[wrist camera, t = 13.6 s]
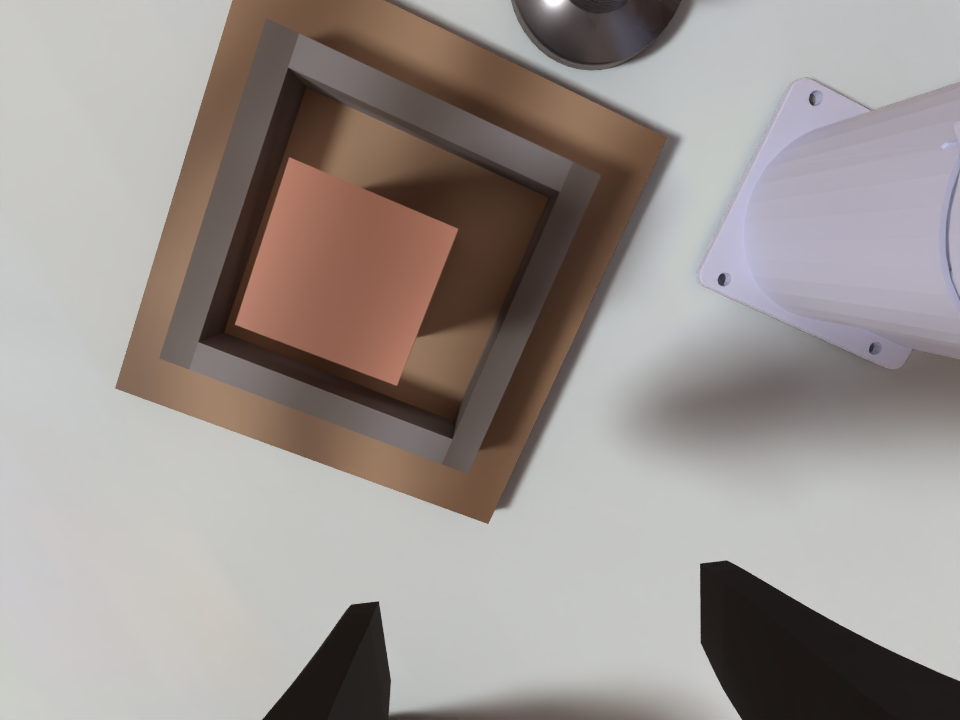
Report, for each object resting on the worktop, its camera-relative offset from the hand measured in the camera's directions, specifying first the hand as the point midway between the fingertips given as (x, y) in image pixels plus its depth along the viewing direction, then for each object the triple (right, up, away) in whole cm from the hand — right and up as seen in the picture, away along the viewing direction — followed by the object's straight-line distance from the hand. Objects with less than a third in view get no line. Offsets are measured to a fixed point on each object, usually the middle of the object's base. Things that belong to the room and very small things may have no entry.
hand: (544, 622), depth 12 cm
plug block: (-5, +9, +7) cm, 13 cm away
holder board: (-5, +9, +8) cm, 13 cm away
